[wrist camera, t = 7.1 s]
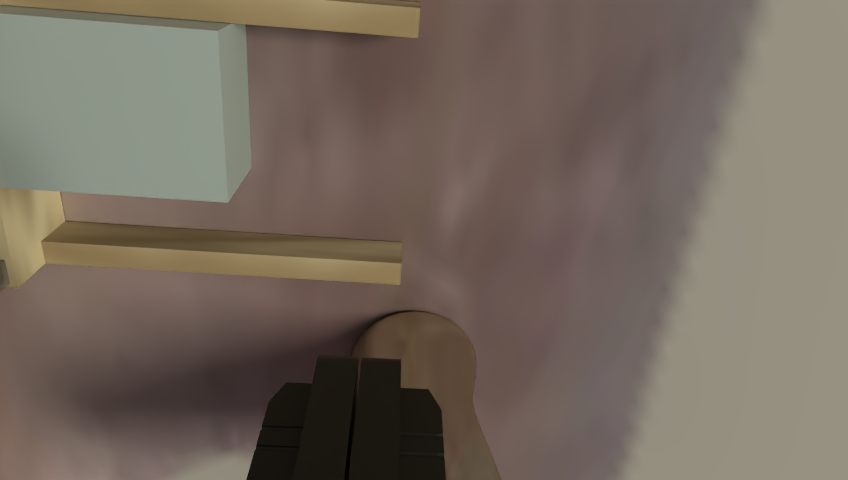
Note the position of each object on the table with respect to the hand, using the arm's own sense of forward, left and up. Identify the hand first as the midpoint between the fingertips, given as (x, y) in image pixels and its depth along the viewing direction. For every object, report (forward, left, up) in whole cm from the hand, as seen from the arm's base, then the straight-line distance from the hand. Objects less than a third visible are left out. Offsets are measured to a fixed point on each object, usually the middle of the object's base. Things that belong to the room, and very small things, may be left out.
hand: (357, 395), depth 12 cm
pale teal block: (-1, -10, -16) cm, 19 cm away
